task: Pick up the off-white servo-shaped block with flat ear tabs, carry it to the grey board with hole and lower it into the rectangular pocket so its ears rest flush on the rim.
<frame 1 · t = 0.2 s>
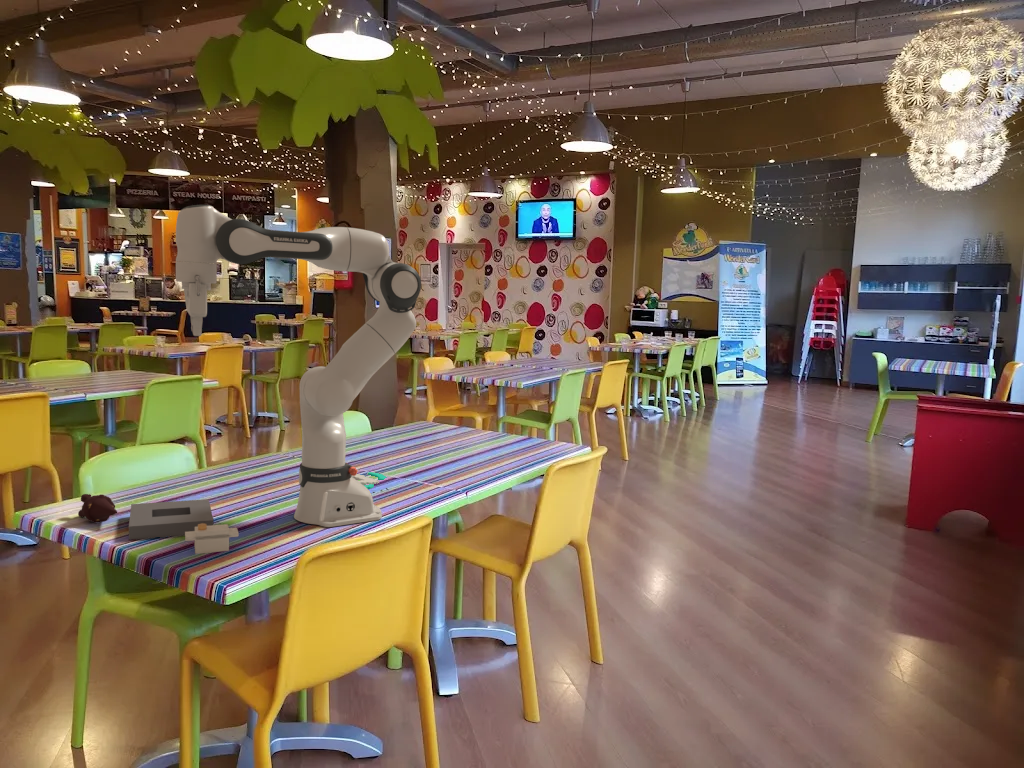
hand: (196, 334, 175), 47 cm above the table, fingers open, 8 cm apart
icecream: (98, 522, 182), on the table
grey board with hole: (171, 524, 182), on the table
servo: (211, 549, 168), on the table
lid: (350, 484, 230), on the table
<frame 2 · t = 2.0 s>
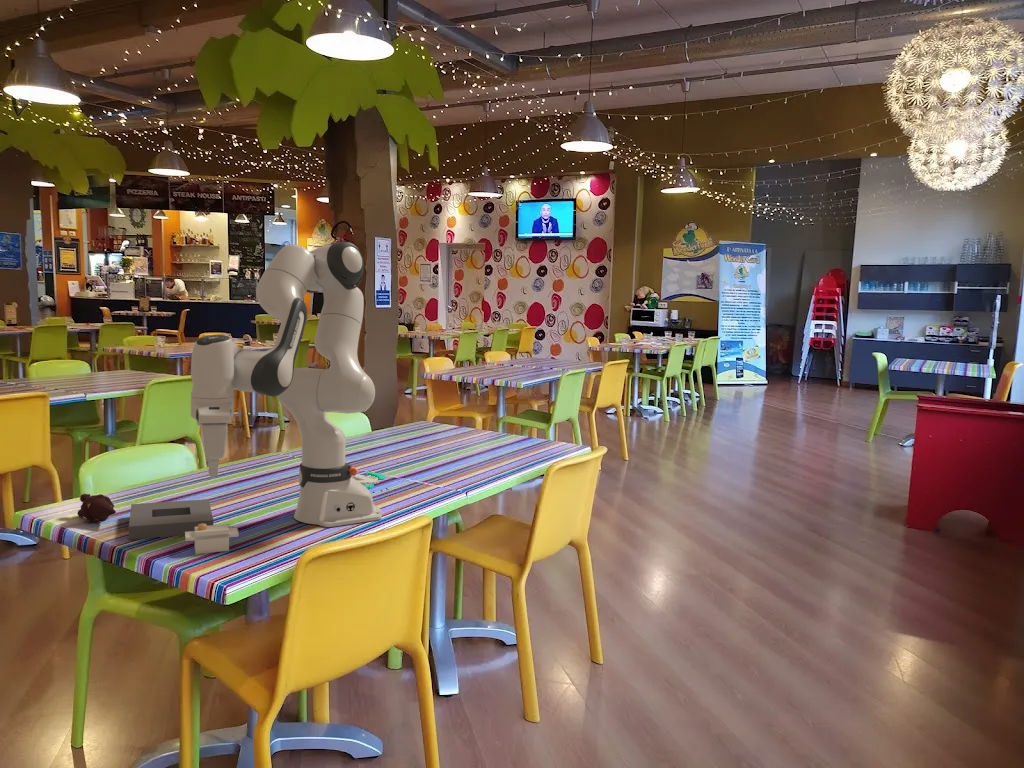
hand: (211, 470, 165), 18 cm above the table, fingers open, 8 cm apart
nothing on the table moved.
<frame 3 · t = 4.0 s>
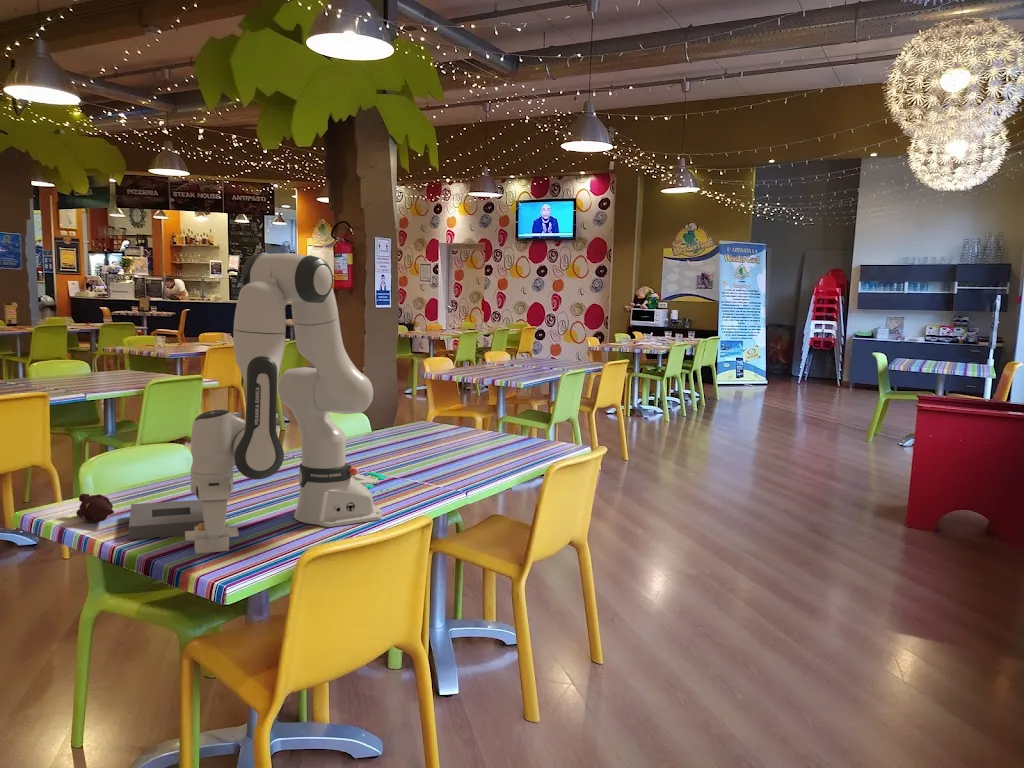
hand: (211, 542, 167), 2 cm above the table, fingers closed on servo, 4 cm apart
servo: (211, 549, 168), on the table, touching gripper
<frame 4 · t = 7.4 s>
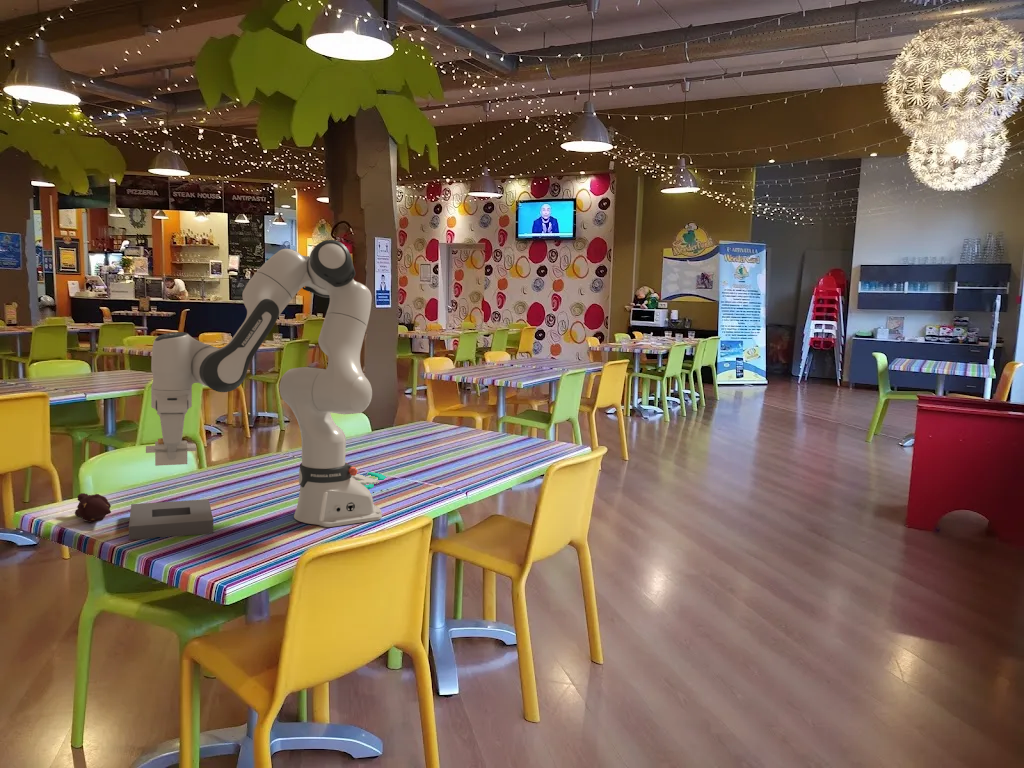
hand: (171, 456, 180), 17 cm above the table, fingers closed on servo, 4 cm apart
servo: (171, 463, 180), point 16 cm above the table, touching gripper
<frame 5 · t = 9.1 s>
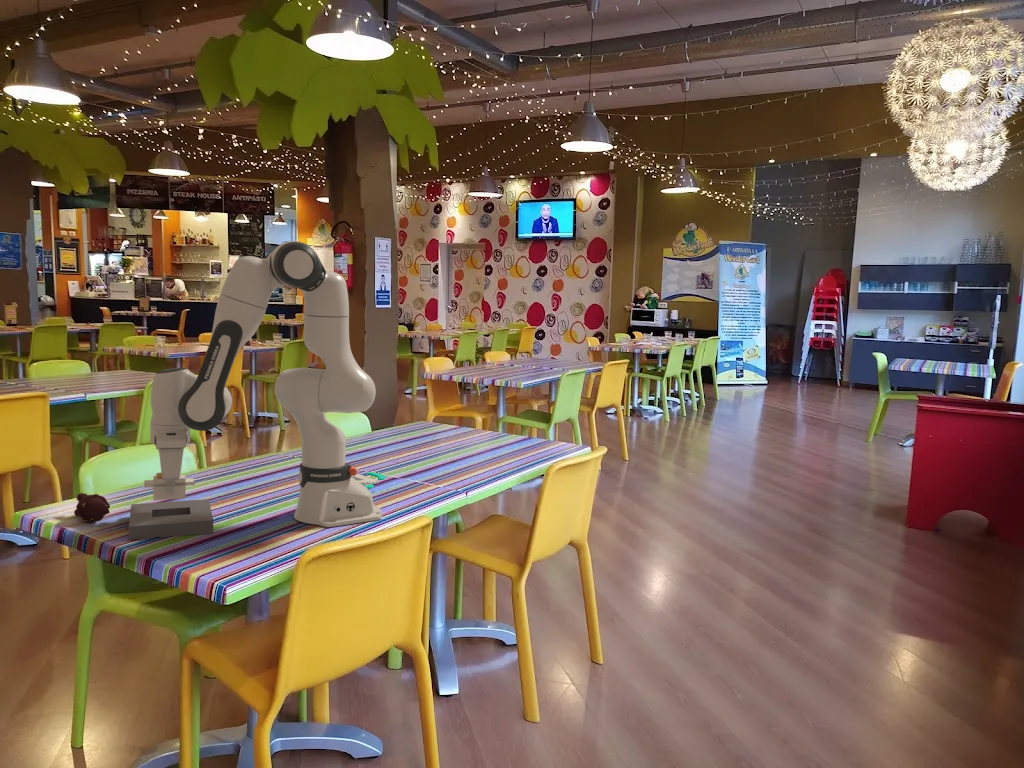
hand: (169, 490, 181), 9 cm above the table, fingers closed on servo, 4 cm apart
servo: (169, 497, 181), point 7 cm above the table, touching gripper
when the fingers open (4 cm above the table, at t = 10.7 s): servo drops 2 cm, resting on grey board with hole.
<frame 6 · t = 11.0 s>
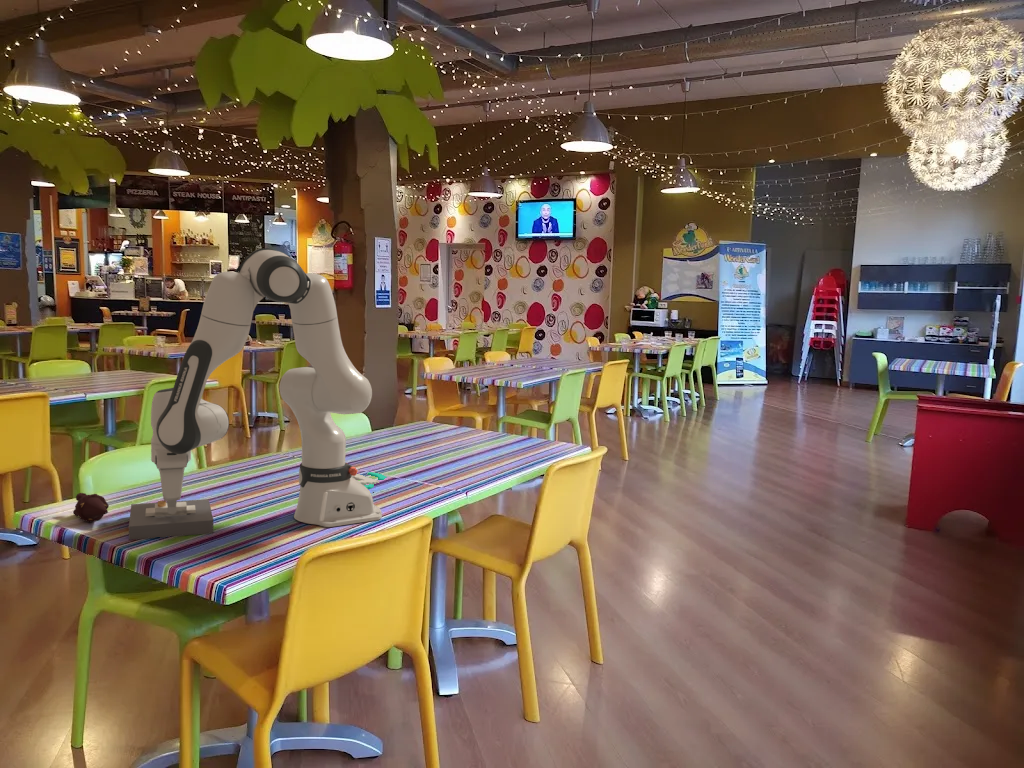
hand: (171, 508, 182), 4 cm above the table, fingers open, 7 cm apart
servo: (170, 524, 182), resting on grey board with hole
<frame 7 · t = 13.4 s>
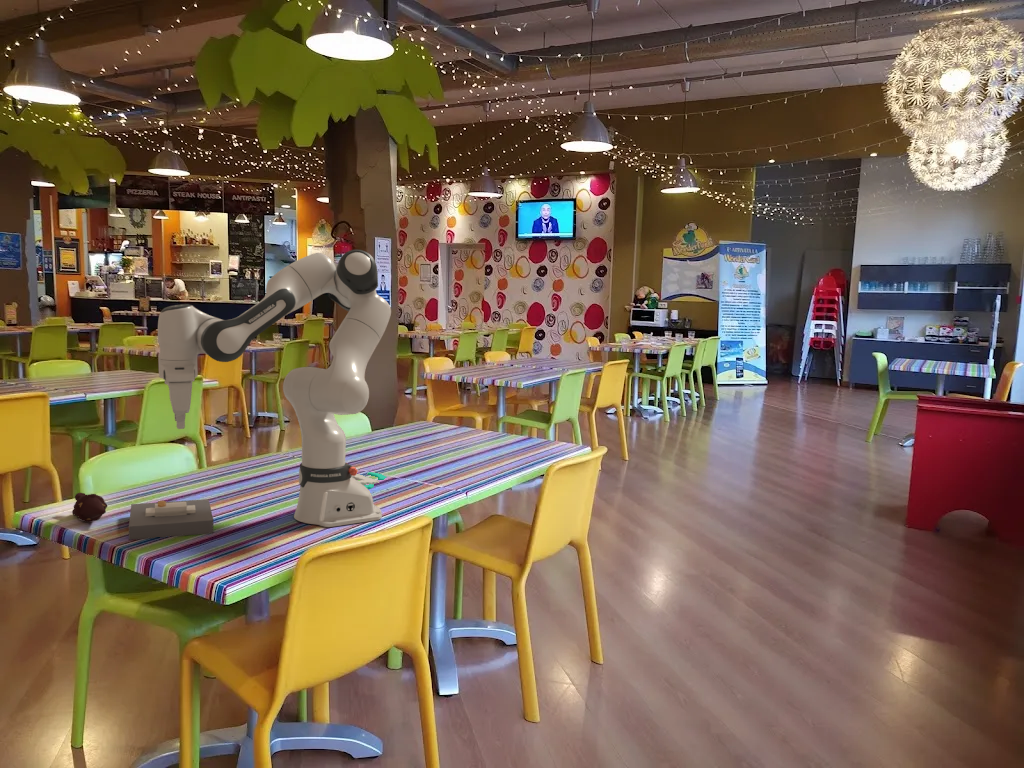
hand: (179, 424, 186), 24 cm above the table, fingers open, 8 cm apart
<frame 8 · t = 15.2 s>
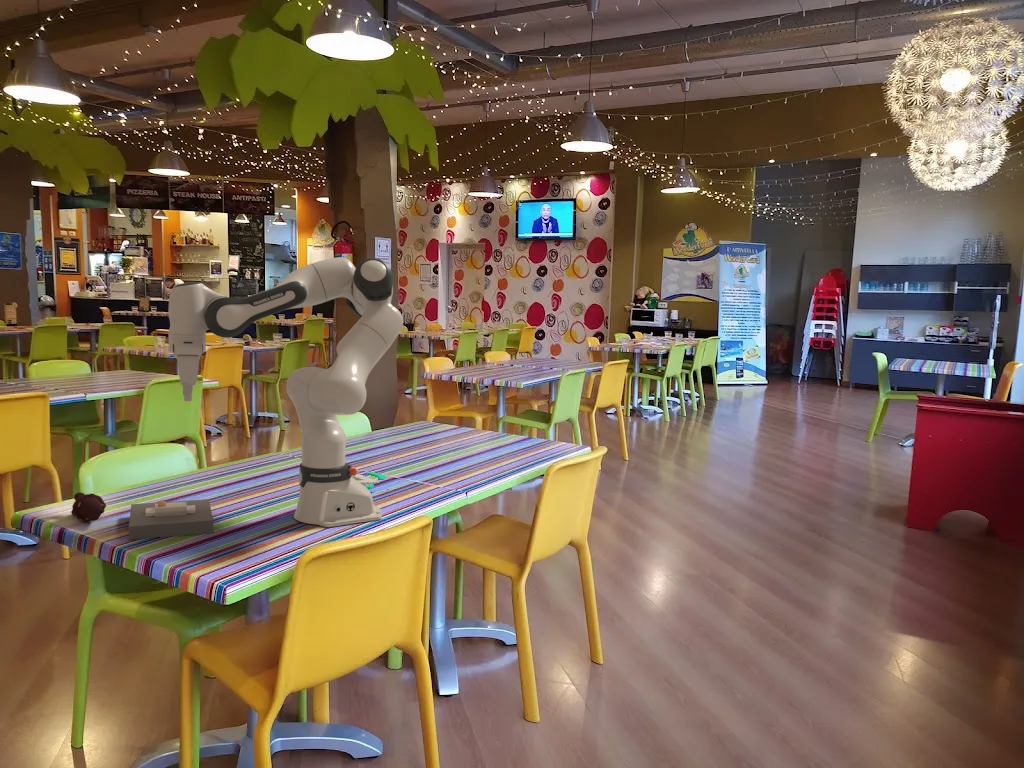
hand: (187, 397, 194), 29 cm above the table, fingers open, 8 cm apart
at the end: servo 0.1 cm off-centre on the grey board with hole, point 0.0 cm above the grey board with hole's base; servo tilted 0°; the gripper is holding nothing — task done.
